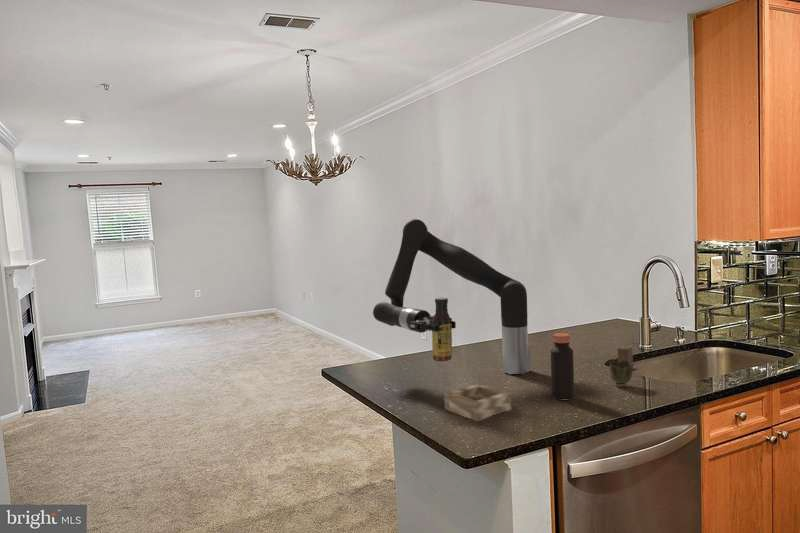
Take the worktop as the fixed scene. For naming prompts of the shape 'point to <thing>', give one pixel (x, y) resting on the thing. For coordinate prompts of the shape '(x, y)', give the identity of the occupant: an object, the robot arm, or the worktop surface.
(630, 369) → the cup
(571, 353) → the vinegar
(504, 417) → the worktop surface
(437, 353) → the sauce bottle
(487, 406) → the socket block
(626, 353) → the wooden block
